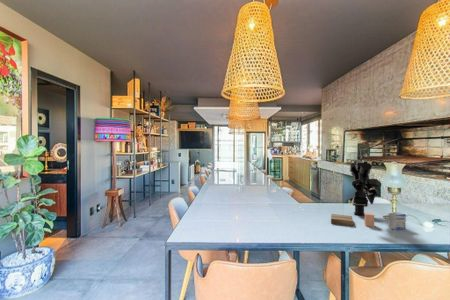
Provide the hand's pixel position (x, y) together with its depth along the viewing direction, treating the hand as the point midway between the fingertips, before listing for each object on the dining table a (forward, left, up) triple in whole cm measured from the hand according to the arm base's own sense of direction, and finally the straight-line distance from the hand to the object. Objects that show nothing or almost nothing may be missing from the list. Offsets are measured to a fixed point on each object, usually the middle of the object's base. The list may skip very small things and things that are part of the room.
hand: (367, 200), depth 146 cm
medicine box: (-1, +15, -15) cm, 22 cm away
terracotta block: (0, +1, -15) cm, 15 cm away
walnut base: (0, -14, -15) cm, 20 cm away
